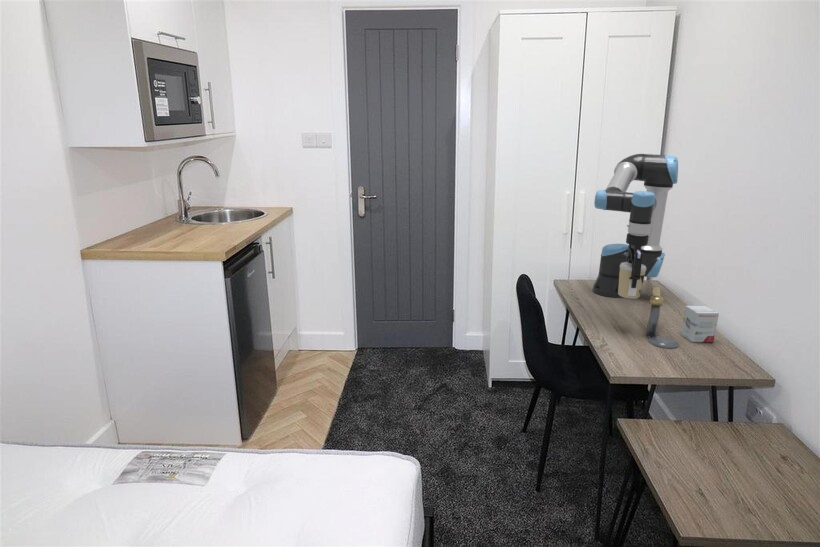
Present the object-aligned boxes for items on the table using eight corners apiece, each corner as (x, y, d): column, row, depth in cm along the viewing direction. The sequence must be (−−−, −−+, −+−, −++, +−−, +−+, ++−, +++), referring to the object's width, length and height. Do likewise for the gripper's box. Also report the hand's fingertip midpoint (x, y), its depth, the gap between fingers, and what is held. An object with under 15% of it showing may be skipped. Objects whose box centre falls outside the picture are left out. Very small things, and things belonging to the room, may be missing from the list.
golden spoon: (661, 293, 216) (662, 287, 216) (662, 306, 201) (664, 299, 200) (649, 291, 218) (650, 285, 217) (649, 304, 202) (651, 298, 201)
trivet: (650, 335, 207) (651, 334, 207) (679, 341, 202) (680, 340, 202) (646, 344, 199) (647, 342, 198) (676, 350, 194) (677, 349, 194)
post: (647, 333, 209) (652, 302, 206) (656, 335, 207) (661, 304, 204) (645, 336, 206) (650, 304, 203) (654, 338, 205) (660, 306, 201)
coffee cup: (644, 300, 203) (649, 269, 199) (617, 298, 205) (622, 267, 201) (639, 292, 212) (643, 262, 208) (614, 290, 213) (618, 260, 210)
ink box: (701, 334, 210) (707, 305, 207) (713, 342, 202) (720, 312, 199) (679, 333, 210) (684, 304, 207) (691, 342, 202) (697, 312, 199)
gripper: (622, 227, 212) (614, 282, 218) (632, 239, 192) (623, 299, 198) (642, 228, 211) (634, 284, 217) (655, 240, 190) (645, 301, 197)
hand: (629, 291), depth 208 cm, fingers closed on coffee cup, 9 cm apart
